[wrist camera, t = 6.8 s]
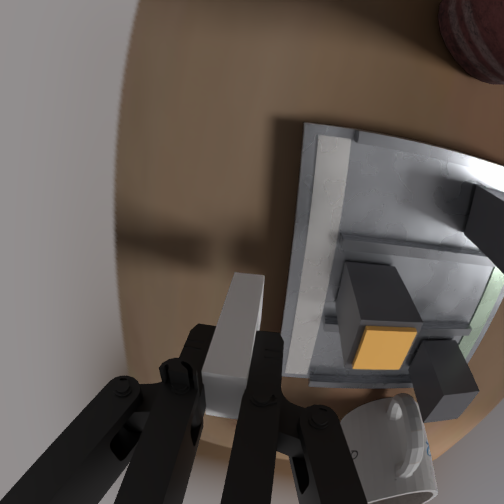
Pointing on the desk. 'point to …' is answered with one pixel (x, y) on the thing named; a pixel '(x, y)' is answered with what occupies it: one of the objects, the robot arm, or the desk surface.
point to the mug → (391, 451)
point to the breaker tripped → (375, 317)
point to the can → (475, 36)
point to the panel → (384, 246)
